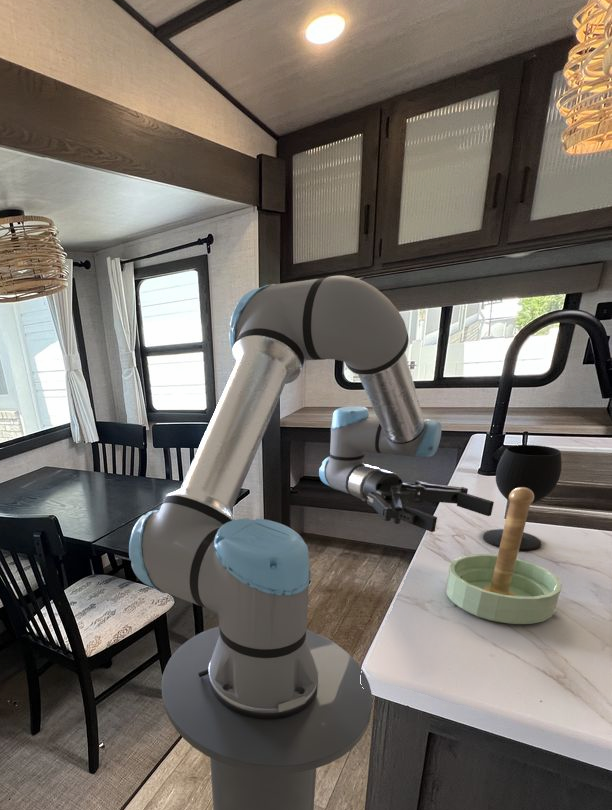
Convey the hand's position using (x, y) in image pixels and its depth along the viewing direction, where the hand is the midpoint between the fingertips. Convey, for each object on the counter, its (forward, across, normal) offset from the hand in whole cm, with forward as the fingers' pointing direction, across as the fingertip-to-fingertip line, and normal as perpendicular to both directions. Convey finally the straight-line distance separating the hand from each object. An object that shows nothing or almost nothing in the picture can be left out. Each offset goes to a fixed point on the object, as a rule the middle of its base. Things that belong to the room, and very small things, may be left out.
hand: (463, 516), depth 84 cm
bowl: (+9, 0, -13) cm, 16 cm away
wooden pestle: (+9, 0, -12) cm, 15 cm away
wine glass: (-6, -24, -13) cm, 28 cm away
